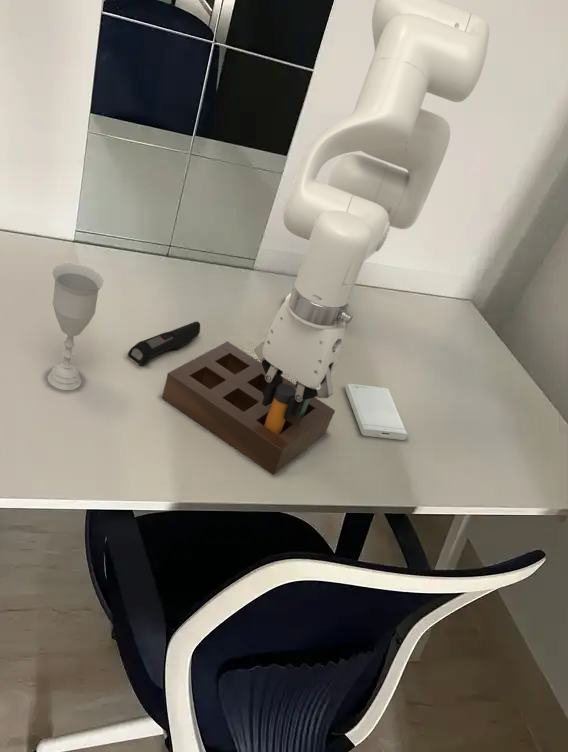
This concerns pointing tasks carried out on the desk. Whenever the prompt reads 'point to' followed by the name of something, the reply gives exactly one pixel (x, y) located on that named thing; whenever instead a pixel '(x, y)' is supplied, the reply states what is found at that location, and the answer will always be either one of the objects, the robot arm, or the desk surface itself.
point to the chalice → (72, 315)
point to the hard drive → (376, 412)
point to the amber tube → (279, 408)
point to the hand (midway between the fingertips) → (279, 408)
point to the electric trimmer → (163, 343)
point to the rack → (242, 406)
